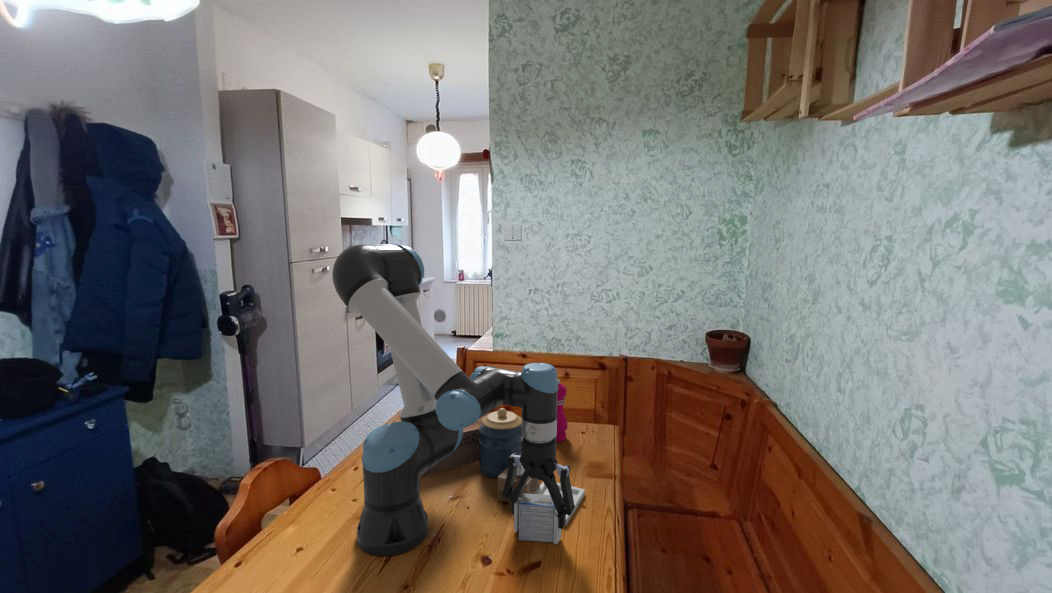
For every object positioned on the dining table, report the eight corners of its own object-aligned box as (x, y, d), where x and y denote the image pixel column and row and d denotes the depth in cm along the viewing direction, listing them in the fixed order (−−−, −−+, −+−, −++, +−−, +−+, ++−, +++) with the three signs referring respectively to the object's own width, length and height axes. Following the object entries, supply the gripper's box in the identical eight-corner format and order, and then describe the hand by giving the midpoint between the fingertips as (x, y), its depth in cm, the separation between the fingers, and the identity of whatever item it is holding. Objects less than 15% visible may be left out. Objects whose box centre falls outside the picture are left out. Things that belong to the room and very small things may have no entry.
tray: (522, 513, 108) (522, 507, 108) (544, 484, 121) (544, 479, 120) (565, 525, 103) (566, 519, 103) (584, 494, 116) (584, 489, 116)
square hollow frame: (497, 499, 114) (497, 477, 113) (512, 484, 121) (512, 462, 120) (526, 507, 110) (527, 484, 109) (539, 491, 117) (540, 469, 117)
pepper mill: (571, 436, 150) (572, 378, 148) (560, 444, 144) (562, 384, 141) (552, 431, 154) (553, 374, 151) (541, 439, 148) (542, 380, 145)
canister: (496, 485, 120) (496, 421, 118) (470, 465, 130) (469, 406, 128) (533, 469, 128) (534, 409, 126) (506, 452, 138) (506, 397, 136)
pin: (511, 496, 115) (512, 459, 114) (516, 491, 117) (517, 454, 116) (521, 499, 114) (522, 461, 112) (526, 493, 116) (526, 457, 115)
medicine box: (555, 530, 102) (556, 494, 101) (554, 544, 97) (555, 506, 96) (520, 528, 102) (521, 492, 101) (518, 541, 98) (518, 503, 97)
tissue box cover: (481, 436, 150) (481, 407, 149) (502, 454, 138) (503, 423, 137) (404, 455, 136) (403, 423, 135) (420, 477, 124) (420, 442, 123)
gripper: (486, 433, 98) (486, 530, 101) (581, 454, 89) (578, 559, 92) (502, 421, 105) (502, 512, 108) (592, 439, 96) (589, 537, 99)
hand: (537, 534), depth 100 cm, fingers closed on medicine box, 9 cm apart
